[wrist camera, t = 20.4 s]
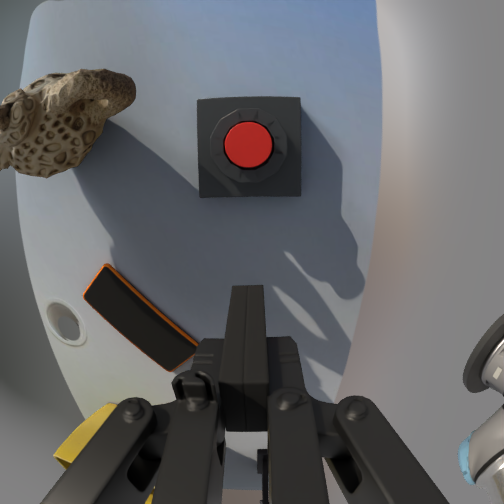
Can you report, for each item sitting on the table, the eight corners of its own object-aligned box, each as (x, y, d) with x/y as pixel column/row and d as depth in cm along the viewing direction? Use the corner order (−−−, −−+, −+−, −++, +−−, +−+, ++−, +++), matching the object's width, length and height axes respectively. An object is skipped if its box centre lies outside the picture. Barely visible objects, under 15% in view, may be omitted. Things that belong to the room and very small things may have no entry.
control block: (297, 101, 26) (303, 93, 22) (297, 193, 30) (303, 199, 26) (201, 103, 26) (192, 95, 23) (203, 194, 30) (195, 200, 26)
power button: (270, 123, 24) (271, 121, 22) (271, 166, 25) (272, 167, 24) (226, 124, 24) (224, 122, 22) (227, 167, 25) (225, 168, 24)
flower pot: (198, 456, 47) (188, 522, 31) (117, 441, 47) (96, 498, 31) (185, 404, 41) (164, 490, 25) (87, 386, 41) (50, 453, 25)
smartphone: (107, 260, 32) (104, 262, 31) (203, 345, 36) (202, 349, 35) (82, 295, 34) (79, 297, 33) (170, 370, 38) (169, 374, 37)
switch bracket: (289, 467, 48) (292, 514, 36) (257, 469, 49) (257, 516, 36) (293, 447, 45) (298, 501, 33) (257, 449, 45) (257, 503, 33)
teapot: (32, 189, 29) (-49, 217, 15) (23, 113, 25) (-57, 114, 11) (168, 144, 28) (95, 140, 14) (155, 51, 24) (90, -6, 10)
